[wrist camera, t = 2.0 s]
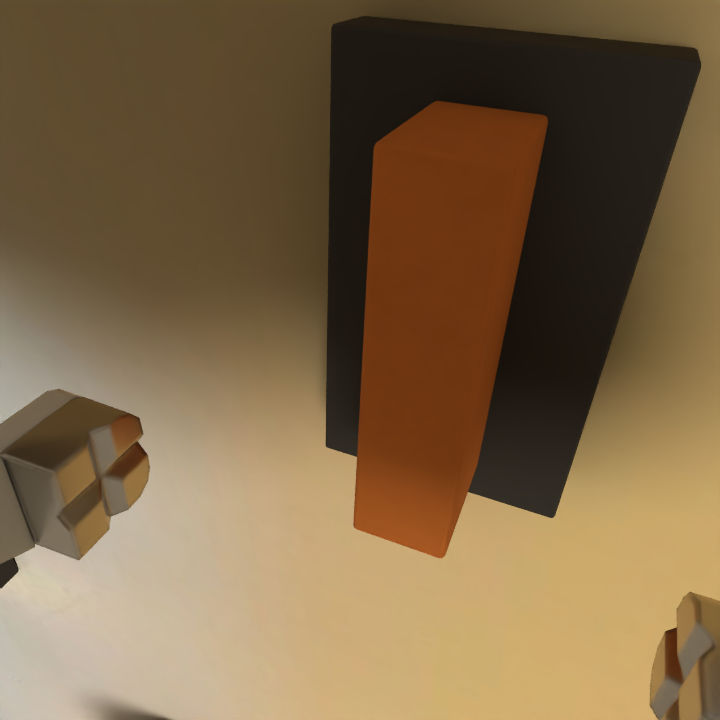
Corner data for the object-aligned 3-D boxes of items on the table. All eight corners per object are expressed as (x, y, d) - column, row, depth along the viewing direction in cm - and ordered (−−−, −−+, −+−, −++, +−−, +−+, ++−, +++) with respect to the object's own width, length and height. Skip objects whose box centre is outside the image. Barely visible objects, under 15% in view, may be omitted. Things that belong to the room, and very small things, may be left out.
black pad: (362, 15, 12) (239, 45, 9) (698, 47, 10) (715, 102, 7) (346, 414, 18) (269, 530, 14) (562, 478, 16) (533, 626, 13)
